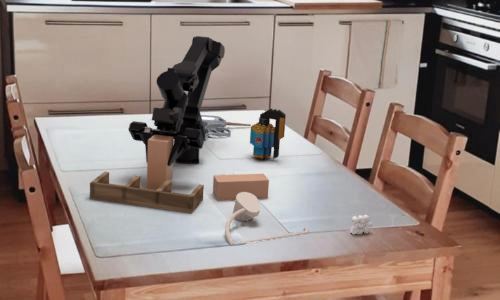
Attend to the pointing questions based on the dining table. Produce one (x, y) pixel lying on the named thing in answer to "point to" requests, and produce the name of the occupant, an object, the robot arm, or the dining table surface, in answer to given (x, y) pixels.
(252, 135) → the toy
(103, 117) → the dining table surface
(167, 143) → the clay bar
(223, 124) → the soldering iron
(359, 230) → the white beaded block
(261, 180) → the clay bar
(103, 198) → the tray
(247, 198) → the toilet paper hanger
